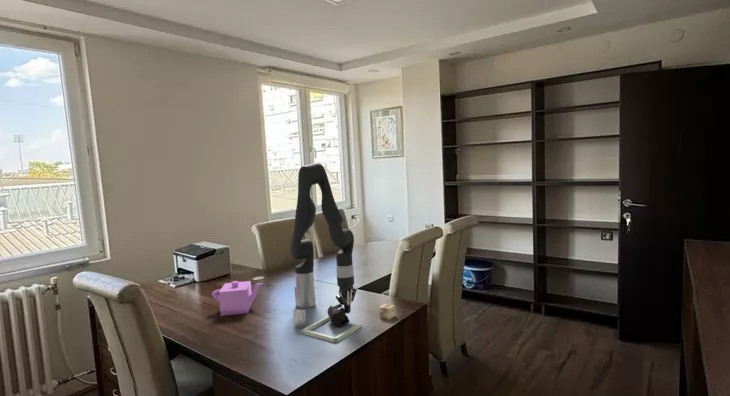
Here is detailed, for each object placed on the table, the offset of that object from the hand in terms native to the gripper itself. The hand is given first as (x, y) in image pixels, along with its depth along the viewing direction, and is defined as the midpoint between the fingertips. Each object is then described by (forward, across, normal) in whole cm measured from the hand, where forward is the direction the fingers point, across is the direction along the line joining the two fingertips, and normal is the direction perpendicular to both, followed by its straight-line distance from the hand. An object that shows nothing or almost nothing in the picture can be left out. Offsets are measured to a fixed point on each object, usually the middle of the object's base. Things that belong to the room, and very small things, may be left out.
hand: (347, 312), depth 177 cm
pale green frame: (+4, +11, 0) cm, 11 cm away
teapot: (+4, +13, -59) cm, 60 cm away
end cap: (+3, +4, -1) cm, 5 cm away
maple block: (+4, -12, +13) cm, 18 cm away
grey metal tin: (+4, +15, -15) cm, 21 cm away
